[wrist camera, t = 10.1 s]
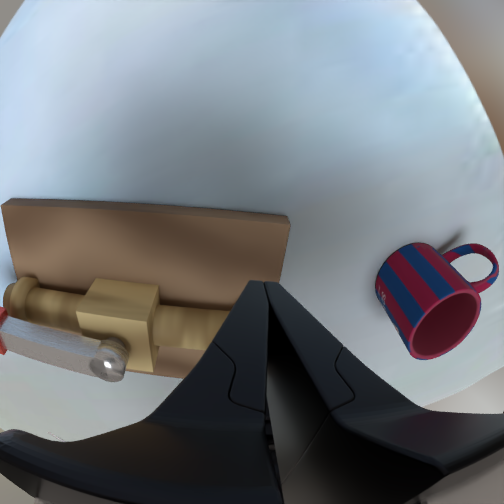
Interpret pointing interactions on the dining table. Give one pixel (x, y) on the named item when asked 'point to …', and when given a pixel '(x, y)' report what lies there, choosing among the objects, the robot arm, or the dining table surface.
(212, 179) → the dining table surface
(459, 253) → the mug
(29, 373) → the dining table surface
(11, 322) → the lever
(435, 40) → the dining table surface
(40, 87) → the dining table surface
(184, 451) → the robot arm
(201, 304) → the valve board
